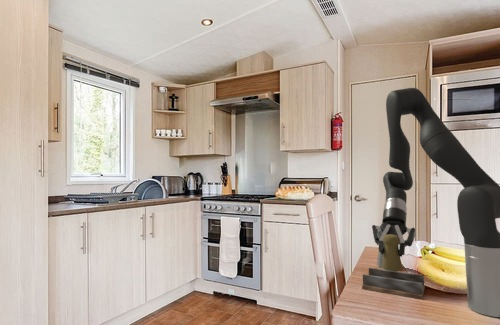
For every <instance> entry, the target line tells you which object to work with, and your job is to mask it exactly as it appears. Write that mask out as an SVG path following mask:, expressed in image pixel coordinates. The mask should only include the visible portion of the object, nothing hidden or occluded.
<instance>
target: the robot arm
mask: <svg viewBox="0 0 500 325" xmlns="http://www.w3.org/2000/svg"><path fill="white" fill-rule="evenodd" d="M385 111H386V120H387V129H388V138H389V153H388V154H389V155H388V158H389V160H388V166H389V167H390V168H392V169H395V170H398V171H387V172H386V173H385V174H384V175H383V178H382V182H383V185H384V186H383V187H384V189H385V202H384V206H383V212H382V220H381V224H380V225H375V224H372V225H371V228H372V234H373V239H374V243H375V244H377V243H379V245H378V252H381V254H384V242H383V236H384V235H387V234H392V235H397V236H398V237H399V238H400V244H399V245H398V247H399V256H400V258H402V257H403V256H405V253H406V247H411V246H413V243H414V239H415V237H416V234H417V232H416V228H415V227H411V228H409V227H407V214H408V213H407V210H408V209H407V199H408V198H407V196H408V195H407V192H406V191H410V190H411V189H412V187H413V185H414V182H413V181H414V180H413V176H412V173H411V169H410V168H411V167H410V158H411V145H410V143H409V139H408V138H407V137H406V135H405V133H404V132H403V129H402V125H401V124H402V123H401V119H402V116H407V115H413V116H414V118H415V119H416V120H417V121H418V124H419V125H420V126H419V127H420V128H419V129H420V130H419V143H420V146H421V149H423V150H424V152H425V154H426V155H427V156H428V158H429V159H430V160H431V161H432V162H433V163H434V164H435V165H436V166H438V167H439V168H440V169H441V170H443V171H445V172H446V173H448V174H449V175H450V176H451V177H453V178H454V179H456V180H457V181H458V182H459V183H460V185H461V186H462V187H463V189H461V190H460V192H459V194H458V195H457V202H456V203H457V204H456V205H457V209H456V210H457V216H458V217H457V218H458V224H459V230H460V233H461V236H462V238H463V242H464V243H463V246H464V261H465V273H466V274H465V277H466V294H467V307H468V308H469V309H470V310H471V311H473V312H476V313H478V314H482V315H484V316H488V317H494V318H500V231H499V230H498V228H497V221H496V220H497V219H500V184H499V183H497V182H496V181H495V180H494V179H493V178H492V177H491V176H490V175H489V174H487V172H486V171H484V169H483V168H482V167H481V166H480V165H479V163H477V162H476V160H475V159H474V158H473V157H472V155H471V154H470V152H468V150H467V149H466V148H465V147H464V146H463V144H462V143H461V142H460V140H459V139H458V138H457V137H456V136H455V135H454V133H453V132H452V131H450V129H449V128H448V127H447V126H446V124H445V123H444V122H443V120H442V119H441V118H440V116H438V114H437V113H436V112H435V110H434V108H432V105H431V104H430V102H429V100H428V99H427V98H426V96H425V95H424V94H423V92H422V91H421V90H420V89H418V88H416V87H408V88H403V89H402V88H399V89H396V90H391V91H390V92H388V95H387V97H386V100H385ZM379 230H382V232H383V233H382V236H381V237H380V238H378V235H377V233H378V232H379ZM406 233H407V235H408V236H407V238H406V240H405V239H404V235H405V234H406Z"/></svg>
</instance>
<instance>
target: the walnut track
mask: <svg viewBox="0 0 500 325" xmlns="http://www.w3.org/2000/svg"><path fill="white" fill-rule="evenodd" d="M421 275H422V274H420V275H419V273H410V272H403V271H389V270H385V269H383V268H376V267H369V268H368V274H364V273H363V274H362V286H361V290H368V291H373V292H379V293H384V294H388V295H389V294H391V295H395V296H400V297H401V296H402V297H407V298H413V299H417V300H418V299H419V300H423V297H424V293H425V289H426V285H424V283H425V276H424V277H423V276H421Z"/></svg>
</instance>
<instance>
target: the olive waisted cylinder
mask: <svg viewBox="0 0 500 325" xmlns="http://www.w3.org/2000/svg"><path fill="white" fill-rule="evenodd" d="M383 242H384V244H385V247H384V255H383V264H382V268H381V269H383V270H389V271H398V272H403V265H402V261H401V260H402V259H401V257H400V256H399V245H400V238H399V237H398V236H397V235H392V234H387V235H384V236H383Z"/></svg>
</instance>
